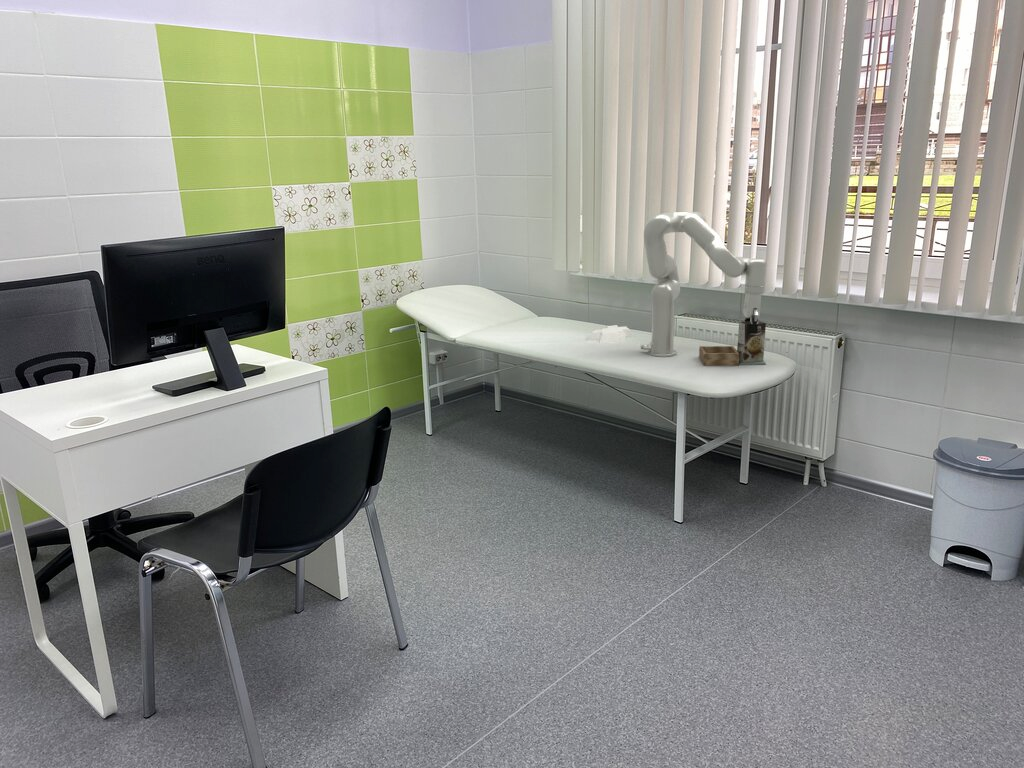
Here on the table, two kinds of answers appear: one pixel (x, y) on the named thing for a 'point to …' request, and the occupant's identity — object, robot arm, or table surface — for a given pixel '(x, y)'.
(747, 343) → the coffee box
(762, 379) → the table surface
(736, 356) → the holder
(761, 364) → the mat
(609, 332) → the paper sheets
